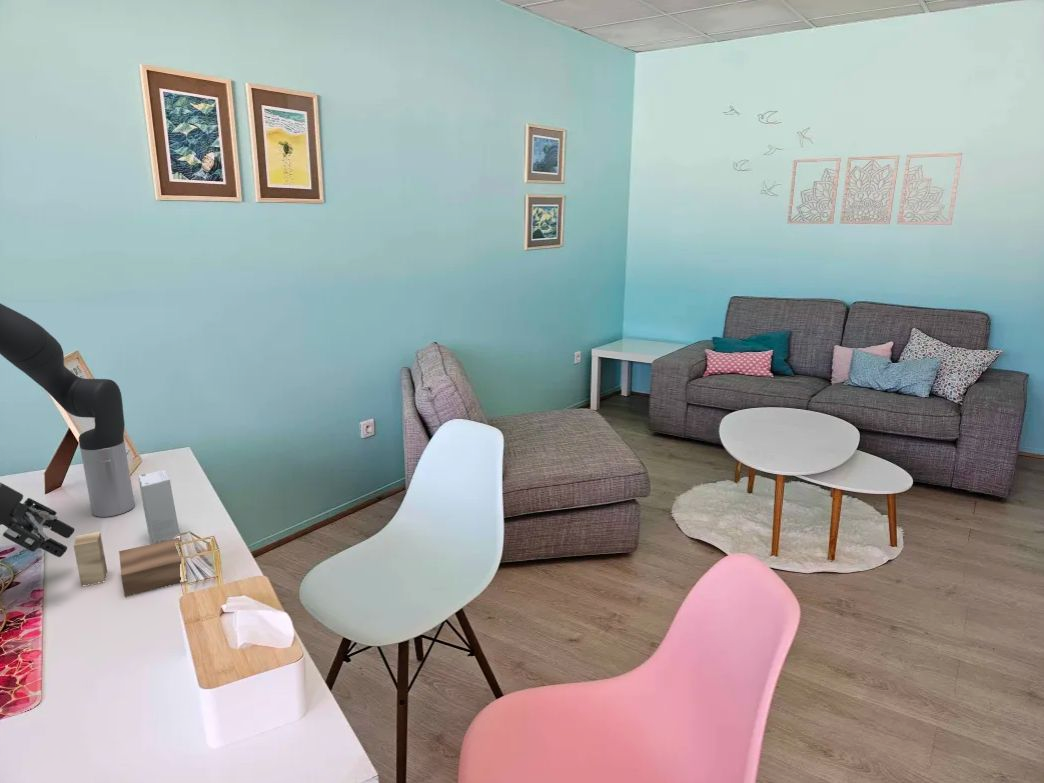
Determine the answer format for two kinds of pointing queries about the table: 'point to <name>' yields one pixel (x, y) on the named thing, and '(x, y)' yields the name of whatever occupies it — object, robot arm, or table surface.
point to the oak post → (90, 558)
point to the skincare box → (158, 506)
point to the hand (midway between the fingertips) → (68, 543)
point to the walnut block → (150, 567)
